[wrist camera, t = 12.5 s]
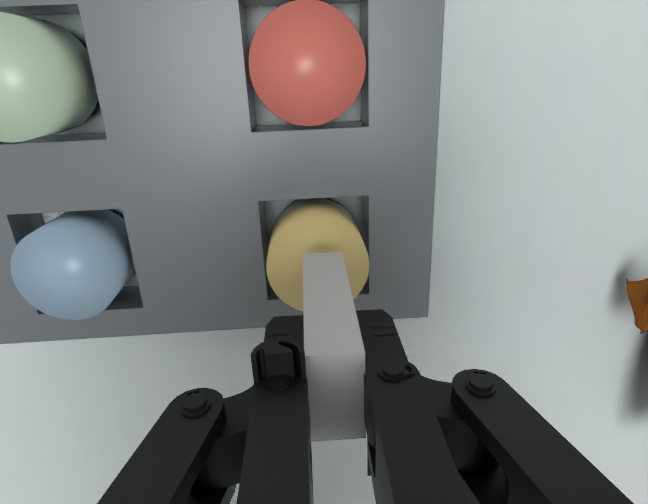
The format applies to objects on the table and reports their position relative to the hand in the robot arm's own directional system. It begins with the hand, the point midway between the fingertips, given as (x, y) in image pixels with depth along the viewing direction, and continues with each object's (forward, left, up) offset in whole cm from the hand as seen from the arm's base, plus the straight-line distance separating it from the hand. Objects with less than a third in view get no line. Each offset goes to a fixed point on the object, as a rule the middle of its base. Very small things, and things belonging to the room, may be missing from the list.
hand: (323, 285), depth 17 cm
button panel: (-6, +4, -7) cm, 9 cm away
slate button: (-11, 0, -6) cm, 13 cm away
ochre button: (0, 0, -5) cm, 5 cm away
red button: (0, +8, -6) cm, 10 cm away
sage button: (-11, +8, -5) cm, 15 cm away
